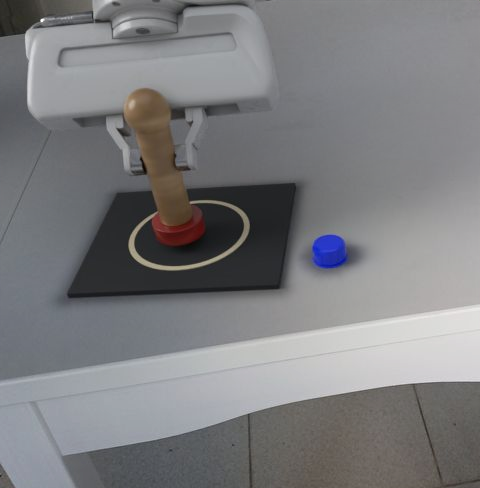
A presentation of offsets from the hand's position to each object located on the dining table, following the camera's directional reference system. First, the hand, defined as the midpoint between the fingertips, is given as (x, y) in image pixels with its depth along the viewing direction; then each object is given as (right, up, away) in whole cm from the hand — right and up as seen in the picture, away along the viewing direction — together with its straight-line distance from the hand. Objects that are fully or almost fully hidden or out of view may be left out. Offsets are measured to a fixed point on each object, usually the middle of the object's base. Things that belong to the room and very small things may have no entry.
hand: (162, 171), depth 59 cm
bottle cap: (+14, -7, +3) cm, 16 cm away
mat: (+1, -5, +7) cm, 8 cm away
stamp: (0, -4, +5) cm, 6 cm away
